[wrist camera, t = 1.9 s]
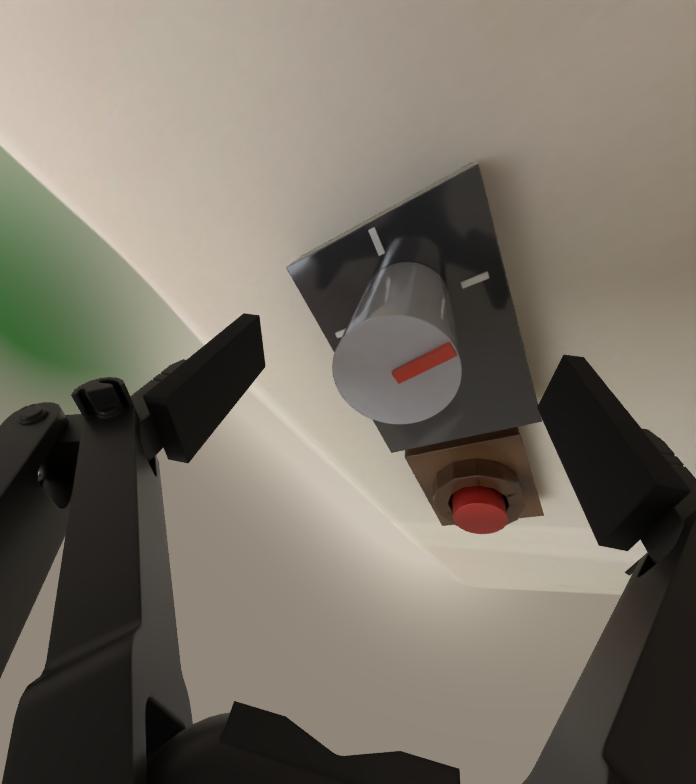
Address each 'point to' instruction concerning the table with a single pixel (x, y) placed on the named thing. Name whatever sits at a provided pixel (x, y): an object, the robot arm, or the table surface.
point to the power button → (479, 510)
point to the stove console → (467, 292)
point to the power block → (477, 472)
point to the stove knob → (400, 347)
